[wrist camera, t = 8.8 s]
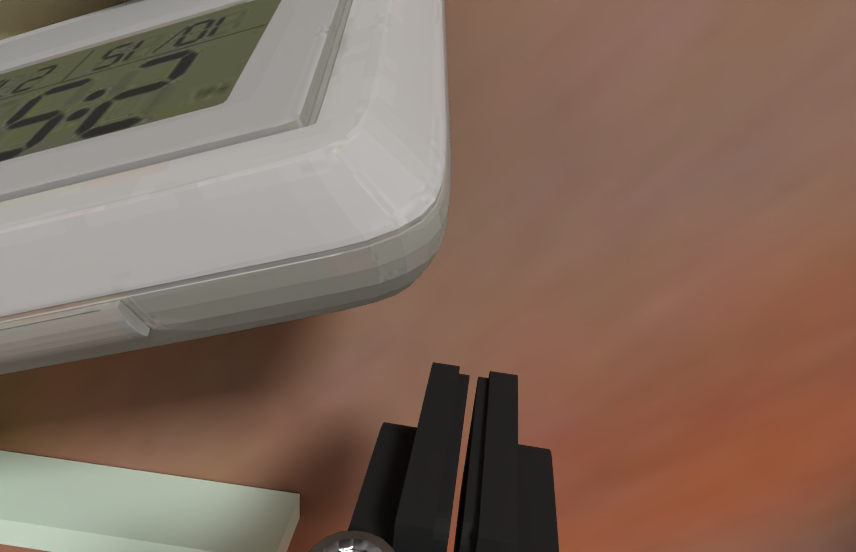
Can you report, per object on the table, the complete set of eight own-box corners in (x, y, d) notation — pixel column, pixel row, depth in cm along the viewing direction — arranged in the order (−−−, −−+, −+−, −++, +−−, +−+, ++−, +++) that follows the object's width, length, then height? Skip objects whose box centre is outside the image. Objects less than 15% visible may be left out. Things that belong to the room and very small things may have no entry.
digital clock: (468, -73, 14) (426, -261, 5) (472, 266, 18) (453, 557, 8) (-126, -37, 16) (-1060, -121, 6) (-14, 267, 20) (-503, 510, 10)
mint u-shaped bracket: (302, -99, 14) (259, -127, 12) (299, 517, 23) (273, 585, 20) (-219, -148, 15) (-377, -185, 12) (-38, 467, 23) (-108, 527, 21)
